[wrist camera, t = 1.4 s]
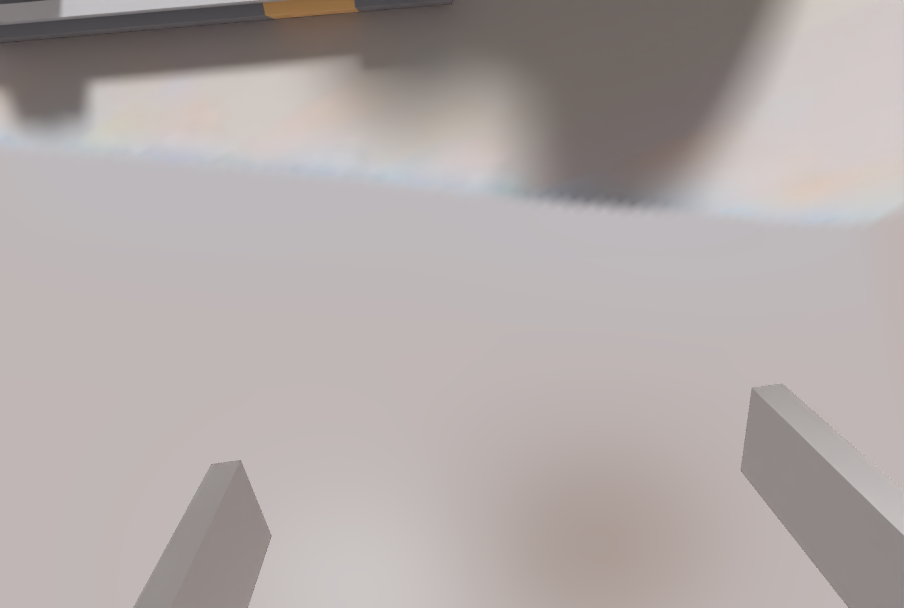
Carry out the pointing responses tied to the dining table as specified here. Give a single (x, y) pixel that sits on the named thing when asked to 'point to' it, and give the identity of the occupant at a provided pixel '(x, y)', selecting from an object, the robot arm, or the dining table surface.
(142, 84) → the dining table surface
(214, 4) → the slider track
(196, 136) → the dining table surface
